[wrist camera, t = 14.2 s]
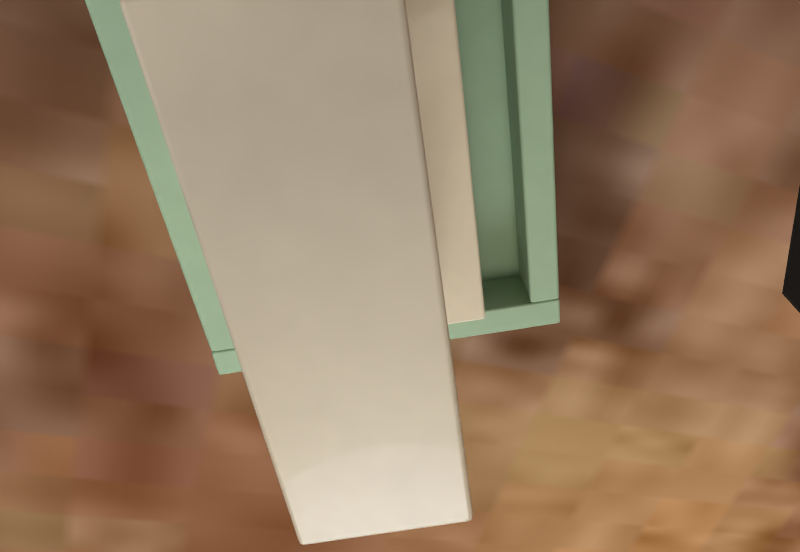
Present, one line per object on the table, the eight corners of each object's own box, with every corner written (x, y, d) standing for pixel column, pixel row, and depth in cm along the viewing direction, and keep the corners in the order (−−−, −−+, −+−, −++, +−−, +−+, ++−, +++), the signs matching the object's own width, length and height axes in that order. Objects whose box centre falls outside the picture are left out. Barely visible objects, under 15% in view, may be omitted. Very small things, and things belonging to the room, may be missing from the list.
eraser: (163, -135, 15) (-48, -90, 7) (425, -179, 15) (513, -184, 7) (282, 300, 21) (242, 593, 13) (472, 271, 21) (549, 549, 13)
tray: (-36, -464, 13) (-104, -515, 11) (500, -564, 13) (527, -633, 11) (230, 327, 22) (218, 375, 20) (541, 278, 22) (560, 323, 20)
